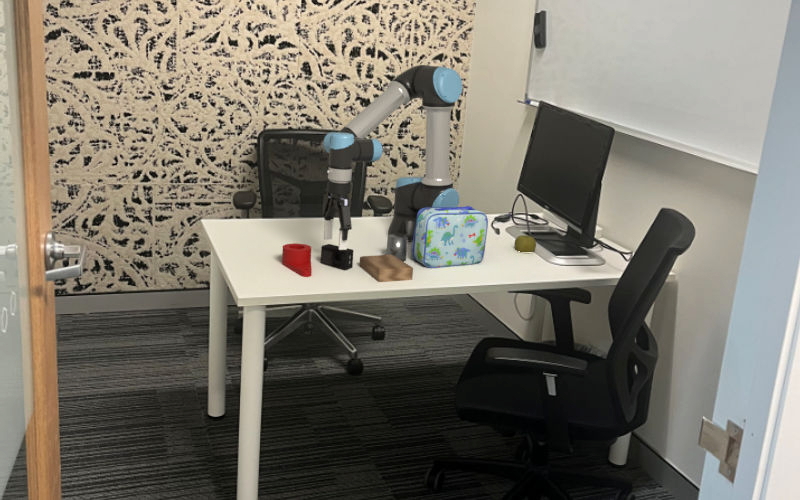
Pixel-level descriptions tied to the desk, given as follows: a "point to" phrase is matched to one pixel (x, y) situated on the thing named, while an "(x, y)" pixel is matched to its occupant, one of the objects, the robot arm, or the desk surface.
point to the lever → (297, 258)
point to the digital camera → (336, 257)
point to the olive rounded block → (525, 243)
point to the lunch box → (449, 236)
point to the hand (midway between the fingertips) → (335, 244)
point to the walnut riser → (386, 268)
